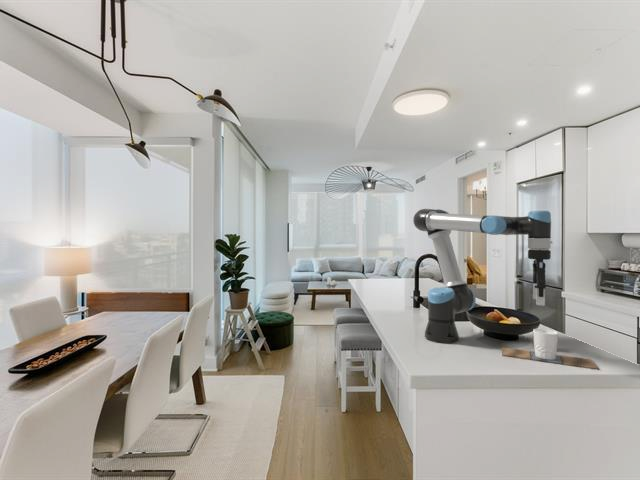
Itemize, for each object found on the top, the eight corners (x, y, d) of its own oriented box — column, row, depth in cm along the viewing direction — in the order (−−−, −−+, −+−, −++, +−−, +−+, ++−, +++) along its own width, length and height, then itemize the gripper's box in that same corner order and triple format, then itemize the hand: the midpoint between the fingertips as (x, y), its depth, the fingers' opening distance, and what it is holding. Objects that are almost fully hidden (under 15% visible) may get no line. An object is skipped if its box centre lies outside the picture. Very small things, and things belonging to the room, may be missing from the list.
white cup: (551, 362, 119) (550, 335, 119) (529, 355, 126) (528, 330, 126) (562, 358, 122) (562, 332, 122) (540, 352, 129) (540, 327, 129)
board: (502, 355, 127) (502, 354, 127) (501, 348, 136) (501, 347, 136) (598, 369, 113) (598, 368, 113) (590, 360, 121) (590, 359, 121)
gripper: (555, 250, 115) (554, 309, 115) (546, 248, 136) (546, 297, 137) (530, 250, 118) (530, 306, 119) (525, 248, 140) (525, 296, 140)
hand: (538, 302), depth 128 cm, fingers open, 13 cm apart
